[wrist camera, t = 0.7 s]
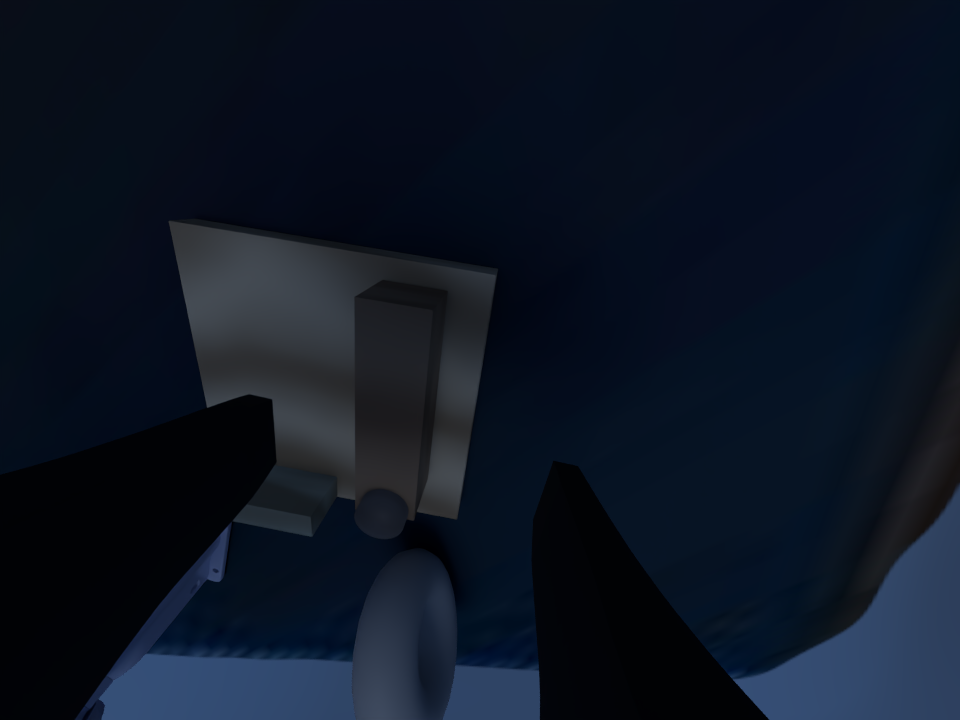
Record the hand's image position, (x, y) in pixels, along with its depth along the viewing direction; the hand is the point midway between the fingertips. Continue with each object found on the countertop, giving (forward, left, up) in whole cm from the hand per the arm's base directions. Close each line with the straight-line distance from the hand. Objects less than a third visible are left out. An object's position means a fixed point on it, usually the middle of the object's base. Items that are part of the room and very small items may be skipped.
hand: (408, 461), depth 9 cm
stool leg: (-4, +1, -9) cm, 10 cm away
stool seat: (-6, +5, -10) cm, 13 cm away
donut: (-18, -4, -11) cm, 21 cm away
